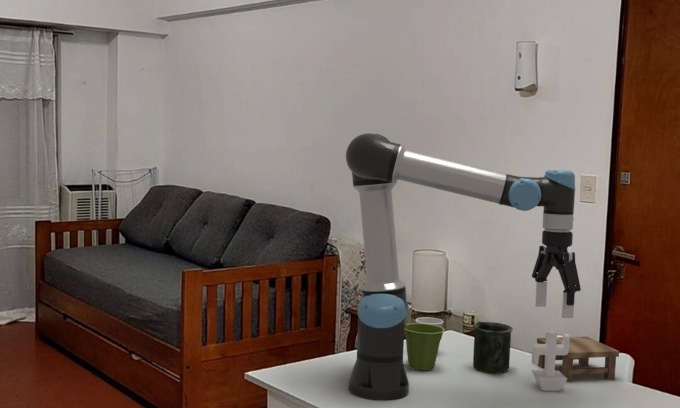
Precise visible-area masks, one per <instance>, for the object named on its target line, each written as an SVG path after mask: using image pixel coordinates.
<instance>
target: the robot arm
mask: <svg viewBox="0 0 680 408" xmlns="http://www.w3.org/2000/svg"><path fill="white" fill-rule="evenodd" d="M345 160H346V161H345V162H346V164H347V167H348V169H349V170H350V171H351V177H352V187H353V188H354V190H356V191H357V192H358V194H359V203H360V216H361V226H362V237H363V249H364V250H363V251H364V259H365V260H364V261H365V271H366V272H365V273H366V282H365V284H364V285H363V286H362V287H361V291H362V297H361V299H360V300H359V302H358V303H359V304H358V309H357V316H358V317H357V318H358V319H357V342H356V360H355V362H354V365H353V368H352V371H351V373H350V377H349V379H348V391H349V392H350V393H351V394H352V395H355V396H358V397H361V398H364V399H371V400H395V399H400V398H403V397H405V396H407V395H409V391H410V382H409V379H408V376H407V371H406V367H405V364H404V343H405V342H404V341H405V332H404V329H405V326H406V324H408V321H409V317H410V306H409V304H408V300H407V290H406V284H405V282H403V281H402V280H401V279H400V275H399V274H400V273H399V263H398V262H399V261H398V250H397V249H398V248H397V239H396V238H397V236H396V227H395V226H396V225H395V216H394V215H395V214H394V205H393V193H392V191H393V189H394V187H395V186H396V185H397V181H402V182H407V183H410V184H415V185H419V186H423V187H427V188H432V189H437V190H440V191H444V192H449V193H453V194H456V195H461V196H465V197H469V198H475V199H478V200H482V201H486V202H490V203H495V204H498V205H500V206H506V207H511V208H515V209H516V210H518V211H523V212H526V211H527V212H528V211H531V210H533V209H534V208H536V207H543V213H542V228H543V229H544V230H543V231H541V232H542V233H541V235H542V237H541V244H542V245H539V249H538V255H537V258H536V261H535V264H534V266H533V270H532V274H531V277H532V279H534V280H535V282H536V285H535V286H536V287H535V307H536V308H539V307H540V308H541V307H542V308H543V307H545V308H546V307H547V293H548V292H547V291H548V290H547V289H548V279H547V278H548V276H549V275H550V273H551V271H552V269H553V267H554V268H555V269H556V270H557V271H558V273H559V277H560V279H561V282H562V285H563V291H562V304H561V306H562V308H561V309H562V310H561V318H562V319H574V309H575V307H574V306H575V297H576V295H575V294H576V293H577V292H580V291H581V288H582V287H581V283H580V278H579V273H578V269H577V264H576V253H575V251H568V247H572V245H573V237H574V233H573V232H572V230H573V229H574V221H575V218H574V213H575V211H574V209H575V196H576V175H575V173H574V171H571V170H567V169H566V170H564V169H562V170H561V169H547V170H546V171H545V172H544V175H543V176H541V177H540V176H539V177H537V176H536V177H533V176H532V177H531V176H518V175H513V174H507V173H505V172H501V171H500V172H499V171H495V170H492V169H488V168H483V167H480V166H475V165H471V164H467V163H462V162H457V161H453V160H451V159H445V158H442V157H437V156H434V155H429V154H425V153H421V152H418V151H417V152H416V151H413V150H408V149H406V148H405V147H404V145H403V144H401V143H396V142H393V141H390V139H388V138H387V137H386V136H384V135H382V134H379V133H369V132H368V133H363V134H359V135H357V136H356V137H354V138H353V139H351V141H350V142H349V144H348V145H347V148H346V151H345Z"/></svg>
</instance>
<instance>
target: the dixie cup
mask: <svg viewBox="0 0 680 408" xmlns="http://www.w3.org/2000/svg"><path fill="white" fill-rule="evenodd" d="M415 323H424V324H432V325H437V326H440V327H442V328H443V325H444V319H440V318H438V317H437V318H436V317H428V316H427V317H417V318H416V319H415Z"/></svg>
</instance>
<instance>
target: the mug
mask: <svg viewBox="0 0 680 408" xmlns="http://www.w3.org/2000/svg"><path fill="white" fill-rule="evenodd" d="M473 329H474V336H473V337H474V338H473V357H472V358H473V359H472V366H473V367H474V369H475V370H478V371H480V372H482V373H489V374H501V373H506V372H508V371H509V369H510V358H511V339H512V337H511V336H512V332H513V330H514V329H513V327H512V326H511V325H508V324H504V323H501V322H492V321H483V322H477V323H475V324H473Z"/></svg>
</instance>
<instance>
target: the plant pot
mask: <svg viewBox="0 0 680 408" xmlns="http://www.w3.org/2000/svg"><path fill="white" fill-rule="evenodd" d="M445 332H446V330H445V328H444V327H443V326H442V327H440V326H437V325H432V324H424V323H416V322H413V323H406V326H405V329H404V338H405V342H406V353H407V354H406V355H407V365H408V367H409V368H411V369H413V370H416V371H417V370H422V371H425V372H427V371H431V370H434V369H435V366H436V361H437V357H438V353H439V349H440V343H441V340H442V337H443V334H444V333H445Z"/></svg>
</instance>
